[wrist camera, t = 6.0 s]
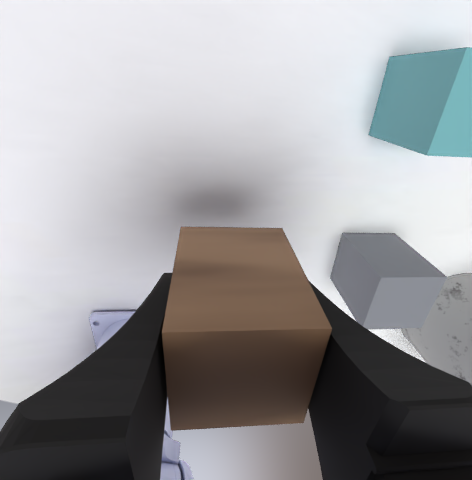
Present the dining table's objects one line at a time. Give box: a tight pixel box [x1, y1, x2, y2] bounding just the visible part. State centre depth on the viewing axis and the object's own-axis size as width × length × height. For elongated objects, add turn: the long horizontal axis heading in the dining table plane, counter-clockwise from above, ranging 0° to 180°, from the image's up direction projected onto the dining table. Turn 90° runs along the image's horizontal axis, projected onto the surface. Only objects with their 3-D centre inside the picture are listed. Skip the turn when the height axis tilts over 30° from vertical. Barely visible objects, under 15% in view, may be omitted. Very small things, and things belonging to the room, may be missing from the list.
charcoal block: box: [330, 233, 447, 329], centre depth 22 cm, size 4×4×6 cm
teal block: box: [369, 47, 472, 157], centre depth 16 cm, size 4×4×6 cm
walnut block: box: [162, 227, 332, 431], centre depth 11 cm, size 4×4×6 cm
